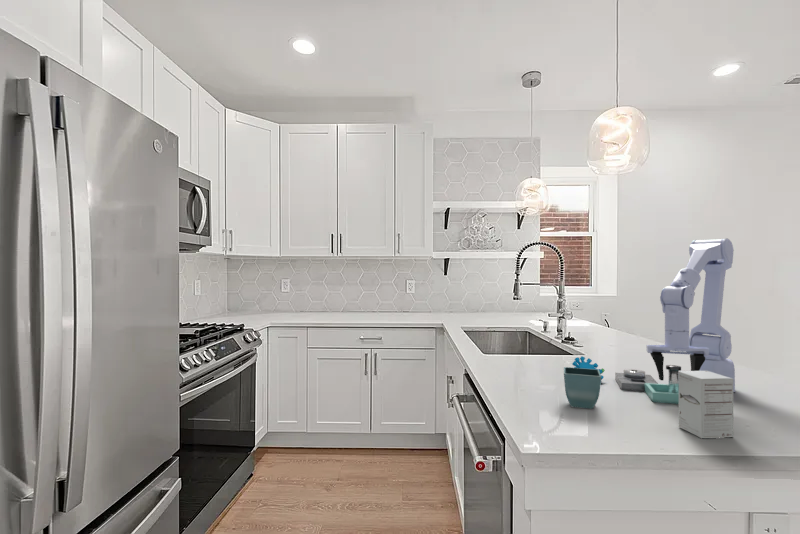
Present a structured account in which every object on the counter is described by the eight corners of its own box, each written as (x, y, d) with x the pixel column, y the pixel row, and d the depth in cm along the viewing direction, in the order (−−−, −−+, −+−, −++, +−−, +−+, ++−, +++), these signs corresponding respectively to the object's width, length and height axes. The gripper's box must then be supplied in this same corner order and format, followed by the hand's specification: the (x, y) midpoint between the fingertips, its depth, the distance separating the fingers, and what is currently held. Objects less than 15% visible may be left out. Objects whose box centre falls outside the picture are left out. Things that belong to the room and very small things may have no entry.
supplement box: (677, 427, 104) (676, 370, 104) (708, 426, 104) (708, 370, 104) (701, 439, 96) (701, 378, 96) (735, 438, 97) (734, 377, 97)
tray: (700, 395, 130) (700, 386, 130) (713, 406, 119) (713, 396, 119) (644, 391, 134) (644, 382, 134) (652, 401, 124) (652, 392, 124)
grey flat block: (650, 381, 147) (650, 369, 147) (659, 392, 133) (659, 379, 133) (615, 378, 150) (615, 367, 150) (621, 389, 136) (621, 376, 136)
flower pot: (599, 403, 123) (599, 368, 123) (601, 412, 115) (601, 376, 115) (563, 400, 126) (563, 366, 126) (563, 409, 117) (563, 373, 117)
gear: (581, 381, 140) (570, 353, 147) (571, 391, 143) (560, 364, 151) (612, 384, 142) (600, 356, 149) (602, 394, 146) (590, 367, 153)
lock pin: (678, 394, 129) (678, 365, 129) (683, 397, 125) (683, 368, 125) (664, 393, 130) (664, 364, 130) (668, 397, 126) (668, 367, 126)
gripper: (650, 331, 125) (650, 382, 125) (712, 333, 121) (712, 386, 121) (645, 328, 132) (645, 376, 132) (704, 330, 127) (704, 379, 127)
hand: (677, 380), depth 127 cm, fingers open, 7 cm apart
